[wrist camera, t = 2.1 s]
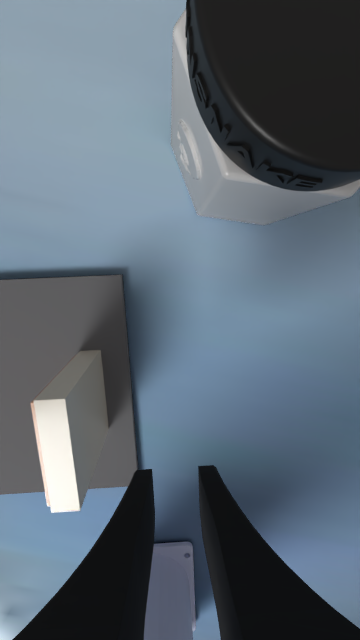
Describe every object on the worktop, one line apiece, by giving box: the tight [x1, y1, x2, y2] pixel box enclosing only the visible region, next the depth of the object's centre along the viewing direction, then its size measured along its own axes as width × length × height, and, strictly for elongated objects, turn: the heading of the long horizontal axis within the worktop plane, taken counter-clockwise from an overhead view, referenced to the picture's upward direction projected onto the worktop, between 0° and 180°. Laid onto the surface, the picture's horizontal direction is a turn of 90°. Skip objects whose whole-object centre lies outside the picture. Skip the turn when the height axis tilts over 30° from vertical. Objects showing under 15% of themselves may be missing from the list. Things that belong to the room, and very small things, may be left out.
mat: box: [0, 274, 138, 494], centre depth 21 cm, size 16×16×1 cm
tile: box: [31, 350, 109, 513], centre depth 17 cm, size 6×2×7 cm, turn 2°
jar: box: [171, 0, 360, 225], centre depth 12 cm, size 9×8×12 cm
